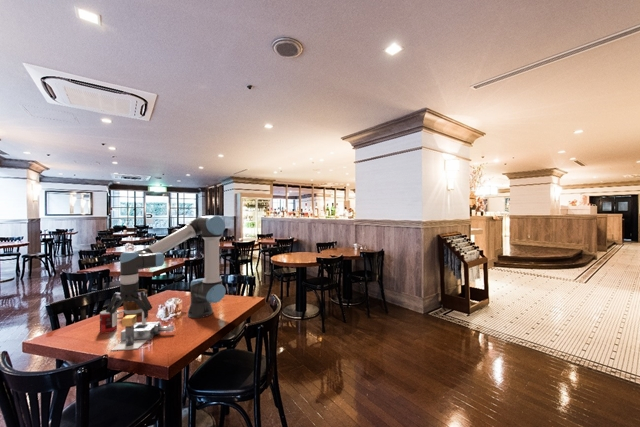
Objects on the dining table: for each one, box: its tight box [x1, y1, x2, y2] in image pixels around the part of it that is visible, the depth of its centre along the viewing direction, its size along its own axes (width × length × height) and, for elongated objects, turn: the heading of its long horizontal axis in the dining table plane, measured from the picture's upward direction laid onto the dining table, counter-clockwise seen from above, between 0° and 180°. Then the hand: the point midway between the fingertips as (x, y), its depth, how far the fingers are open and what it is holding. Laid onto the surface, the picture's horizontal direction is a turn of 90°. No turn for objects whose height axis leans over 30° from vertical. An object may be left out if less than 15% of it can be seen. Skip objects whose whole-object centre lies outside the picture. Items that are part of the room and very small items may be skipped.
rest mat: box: [110, 340, 148, 352], centre depth 138 cm, size 12×9×1 cm
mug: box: [111, 288, 148, 318], centre depth 180 cm, size 20×14×15 cm
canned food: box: [99, 309, 118, 334], centre depth 156 cm, size 8×8×11 cm
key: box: [121, 315, 138, 346], centre depth 138 cm, size 4×4×14 cm
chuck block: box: [120, 321, 174, 342], centre depth 150 cm, size 23×12×6 cm, turn 98°
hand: (129, 325), depth 138 cm, fingers open, 13 cm apart
